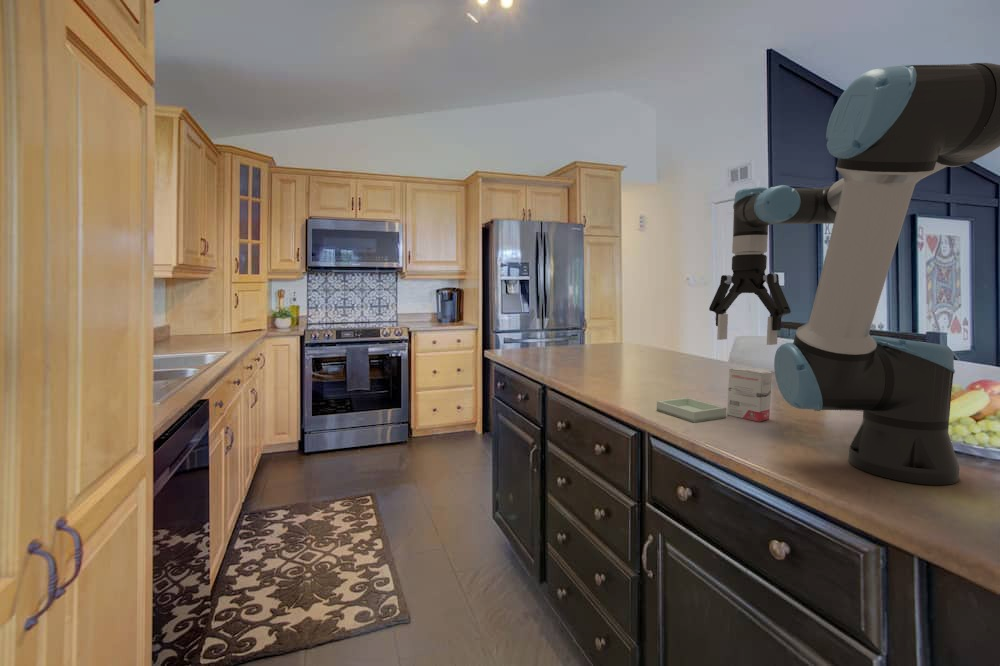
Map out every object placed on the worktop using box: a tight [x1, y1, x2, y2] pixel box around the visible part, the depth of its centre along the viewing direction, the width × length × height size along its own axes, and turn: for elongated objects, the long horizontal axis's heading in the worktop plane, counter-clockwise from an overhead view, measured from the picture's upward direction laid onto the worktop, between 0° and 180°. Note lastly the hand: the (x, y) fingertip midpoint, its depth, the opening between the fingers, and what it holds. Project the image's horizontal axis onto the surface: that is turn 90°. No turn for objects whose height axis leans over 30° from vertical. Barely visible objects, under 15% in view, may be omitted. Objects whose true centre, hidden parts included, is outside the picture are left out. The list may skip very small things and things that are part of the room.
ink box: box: [726, 367, 773, 423], centre depth 122 cm, size 9×5×12 cm, turn 34°
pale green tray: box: [656, 397, 727, 423], centre depth 125 cm, size 13×11×2 cm
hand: (745, 341), depth 120 cm, fingers open, 13 cm apart
